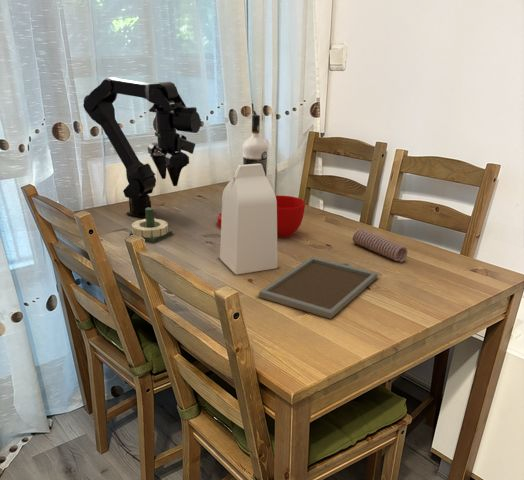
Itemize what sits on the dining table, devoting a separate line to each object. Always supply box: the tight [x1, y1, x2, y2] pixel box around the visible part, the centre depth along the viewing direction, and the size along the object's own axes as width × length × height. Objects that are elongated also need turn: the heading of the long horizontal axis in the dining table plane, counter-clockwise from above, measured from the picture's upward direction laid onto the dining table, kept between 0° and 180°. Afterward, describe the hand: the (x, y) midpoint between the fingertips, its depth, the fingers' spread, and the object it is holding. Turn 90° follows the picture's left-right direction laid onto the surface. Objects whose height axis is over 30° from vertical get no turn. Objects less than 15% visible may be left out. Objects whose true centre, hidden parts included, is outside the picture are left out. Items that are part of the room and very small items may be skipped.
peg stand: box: [129, 207, 173, 244], centre depth 164 cm, size 9×9×8 cm
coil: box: [352, 228, 408, 263], centre depth 159 cm, size 5×5×18 cm
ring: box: [131, 218, 169, 238], centre depth 165 cm, size 10×10×2 cm
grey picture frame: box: [258, 256, 378, 320], centre depth 139 cm, size 19×2×30 cm
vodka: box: [242, 114, 269, 177], centre depth 185 cm, size 9×9×30 cm
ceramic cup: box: [275, 195, 306, 238], centre depth 170 cm, size 13×17×10 cm
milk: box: [219, 164, 279, 275], centre depth 144 cm, size 12×12×26 cm
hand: (169, 182), depth 173 cm, fingers open, 9 cm apart
